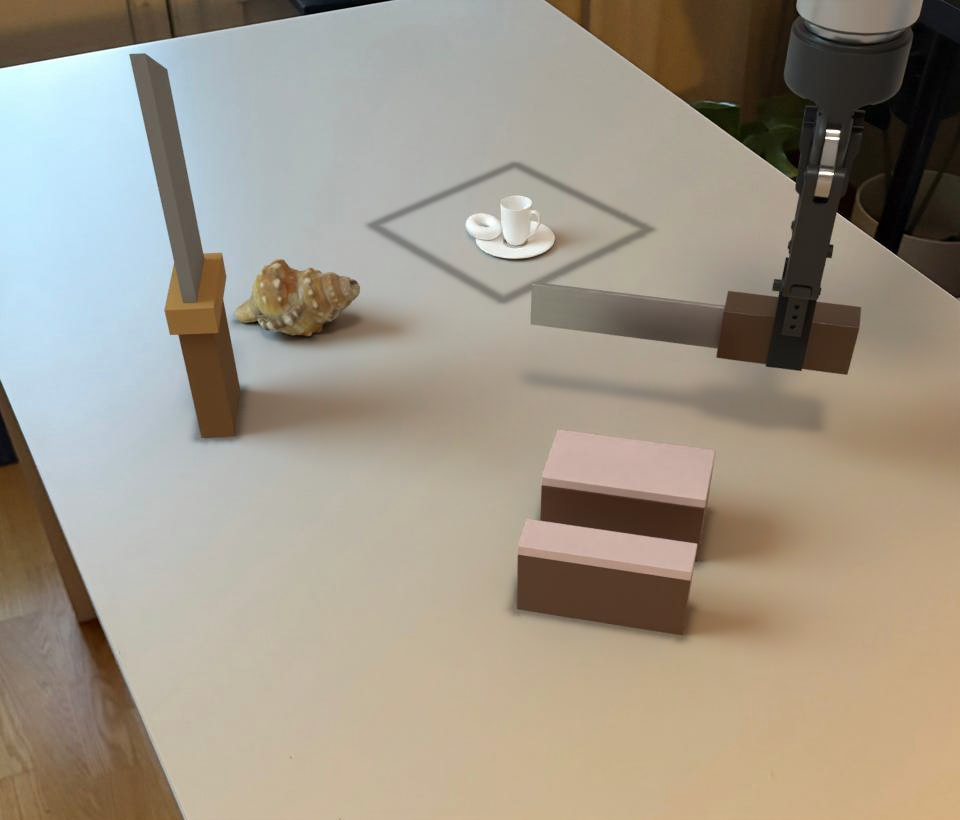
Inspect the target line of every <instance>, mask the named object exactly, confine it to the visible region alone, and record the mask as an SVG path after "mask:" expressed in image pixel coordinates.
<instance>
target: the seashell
mask: <svg viewBox="0 0 960 820" xmlns="http://www.w3.org/2000/svg"><path fill="white" fill-rule="evenodd" d="M360 292H361V286H360V284H359V282H358V281H357V280H356V279H354V278H351V277H350V276H345V275H341V276H340V275H339V274H337V273H336V272H332V271H329V272H321V270H319V269H314V267H308V268H306V269H304V270H298V269H295V268H292V267H290V266H289V265H288V263H287V262H286V260H285V259H284V258H276V259H275V260H273V261H272V262H271V263H270V264H268V265H264V266H263V267H262V268H261V270H260V272H259V273H258V274H257V275H256V276H255V278H254V281H253V284H252V286H251V294H250V297H249V298H248V299H247V300H246V301H244V302H243V303H242V304H241V305H239V306H238V307H236V308H235V311H234V315H235V319H236V320H237V321H239V322H241V323H245V324H247V323H254V322H258V325H259V326H260V327H261V328H262V329H263V330H265V331H267V332H270V331H271V332H273V333H275V332H280V333H284V334H286V335H290V336H305V337H311V336H312V335H313V334H318V333H321V332H322V331H323V326H324V324H326V323H331V322H332V321H333V320H335V319H337V318H338V317H339V316H340V315H341V313H342V311H344V310H346V309H347V308H348V307H350V305H351V304H352V303H353V301H355V300H356V299H357V298H358V297H359V295H360V294H361V293H360Z"/></svg>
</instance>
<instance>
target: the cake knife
mask: <svg viewBox="0 0 960 820" xmlns="http://www.w3.org/2000/svg"><path fill="white" fill-rule="evenodd" d="M530 297H531V298H530V325H531V326H539V327H548V328H555V329H562V330H571V331H579V332H585V333H587V332H588V333H592V334H593V333H594V334H601V335H610V336H616V337H624V338H632V339H639V340H640V339H641V340H648V341H655V342H664V343H670V344H671V343H672V344H678V345H687V346H694V347H703V348H708V349H716V355H715V358H716V359H721V360H723V359H724V360H729V361H737V362H738V361H739V362H745V363H751V364H758V365H759V364H760V365H766V361H767V356H768V351H769V346H770V341H771V336H772V330H773V325H774V320H775V315H776V310H777V304H778V299H779V297H778V296H775V295H765V294H756V293H751V292H750V293H749V292H743V291H742V292H741V291H734V290H733V291H732V290H728V291H727V294H726V299H725V303H724V304H715V303H706V302H699V301H690V300H683V299H676V298H675V299H674V298H666V297H660V296H659V297H657V296H650V295H642V294H636V293H635V294H634V293H626V292H618V291H611V290H602V289H593V288H586V287H585V288H584V287H578V286H571V285H570V286H569V285H561V284H555V283H546V282H538V281H532V283H531V295H530ZM861 316H862V307H861V306H857V305H856V306H855V305H847V304H839V303H833V302H832V303H831V302H823V301H817V303H816V307H815V312H814V316H813V321H812V325H811V330H810V334H809V339H808V344H807V348H806V353H805V357H804V362H803V366H802V370H806V371H815V372H821V373H828V374H829V373H830V374H837V375H845V376H847V375H848V374H849V372H850V371H849V370H850V367H851V362H852V358H853V355H854V351H855V348H856V344H857V340H858V337H859V332H860V328H861V327H860V324H861Z"/></svg>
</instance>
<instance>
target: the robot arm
mask: <svg viewBox="0 0 960 820" xmlns="http://www.w3.org/2000/svg"><path fill="white" fill-rule="evenodd" d="M923 2H924V0H796V5H795V7H796V12H798V14H799V16H797V18H796V19H794V20H793V22H792V25H791V28H790V34H789V41H788V45H787V46H788V47H787V52H786V57H785V64H784V71H783V79H784V82H785V84H786V86H787V87H788V88H789V90H790V91H791V92H792V93H794V94H795V95H797V96H798V97H800V98H802V99H804V100H809V101H811V102H813V103H815V105H806V104H805V108H804V114H803V119H802V124H801V130H800V131H801V132H800V137H799V143H798V150H799V153H800V154H799V160H798V164H797V165H798V167H797V168H798V169H797V172H796V173H797V174H796V179H795V184H794V189H795V190H794V191H795V192H796V193H797V194H798V197H797V202H796V203H797V204H796V207H795V214H794V219H792V221H791V226H790V229H791V230H790V231H791V237H790V240H789V241H788V243H787V250H788V254H789V255H788V257H787V256H786V257H785V260H784V265H783V269H782V275H781V279H779V278H774V279H773V282H772V288H771V292H778V296H777V297H779V299H778V304H777V310H776V315H775V320H774V325H773V330H772V336H771V341H770V346H769V351H768V356H767V361H766V364H765V367H766V368H774V369H781V370H790V371H797V372H802V370H803V369H802V366H803V362H804V357H805V353H806V348H807V344H808V339H809V334H810V330H811V325H812V321H813V316H814V312H815V307H816V303H817V302H818V299H819V297H820V296H821V294H822V280H823V276H824V273H825V272H824V271H825V268H826V262H827V259H832V258H833V253H834V247H835V245H834V244H832V243H831V241H832V234H833V231H834V227H835V223H836V217H837V214H838V209H839V205H840V200H841V199H842V198H843V197H845V195H846V193H847V191H848V186H849V182H850V178H851V174H852V173H851V172H852V167H853V163H854V159H855V158H856V157H857V156H858V155H859V153H860V149H861V145H862V140H863V135H864V129H865V128H864V126H863V125H864V120H865V114H866V110H863V109H861V108H863V107H866V106H869V105H871V106H874V105H878V104H882V103H884V102H886V101H888V100H890V99H891V98H893V97H894V96H895V95H896V94H897V93H898V92H899V91H900V90H901V87H902V85H903V81H904V76H905V73H906V68H907V64H908V60H909V56H910V51H911V48H912V43H913V39H914V32H913V29H912V28H911V26H912V25H913V24H915V23H916V22H917V20H918V19H919V17H920V15H921V11H922V7H923Z"/></svg>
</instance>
